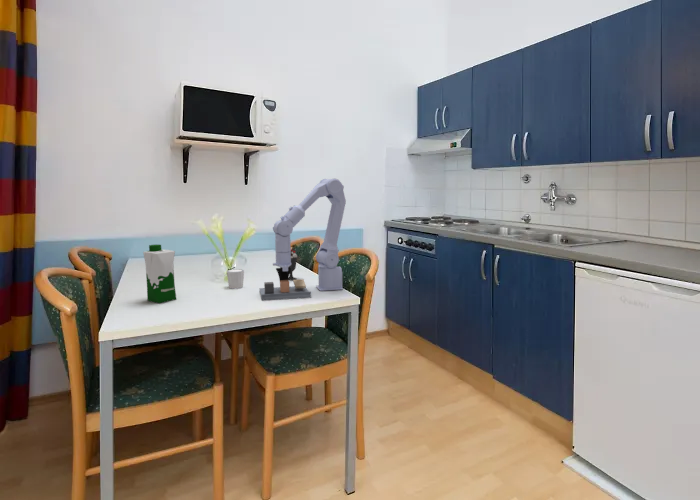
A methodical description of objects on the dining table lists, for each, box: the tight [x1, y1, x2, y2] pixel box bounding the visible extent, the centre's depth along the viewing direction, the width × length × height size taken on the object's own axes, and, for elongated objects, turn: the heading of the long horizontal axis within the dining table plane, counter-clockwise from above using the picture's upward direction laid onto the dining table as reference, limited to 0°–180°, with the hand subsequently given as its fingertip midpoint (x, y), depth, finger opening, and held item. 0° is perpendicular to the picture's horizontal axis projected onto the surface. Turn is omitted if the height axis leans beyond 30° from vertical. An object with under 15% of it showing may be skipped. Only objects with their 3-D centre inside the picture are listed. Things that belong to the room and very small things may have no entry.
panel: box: [259, 285, 312, 302], centre depth 166 cm, size 18×15×3 cm
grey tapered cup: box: [226, 268, 245, 290], centre depth 177 cm, size 7×7×7 cm
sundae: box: [288, 245, 299, 281], centre depth 193 cm, size 7×7×15 cm
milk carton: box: [142, 244, 177, 304], centre depth 156 cm, size 9×9×20 cm
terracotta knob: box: [279, 279, 290, 292], centre depth 164 cm, size 3×3×4 cm
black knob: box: [263, 281, 275, 294], centre depth 160 cm, size 3×3×4 cm
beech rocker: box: [292, 278, 307, 288], centre depth 168 cm, size 4×6×1 cm, turn 15°
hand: (283, 286), depth 167 cm, fingers closed
